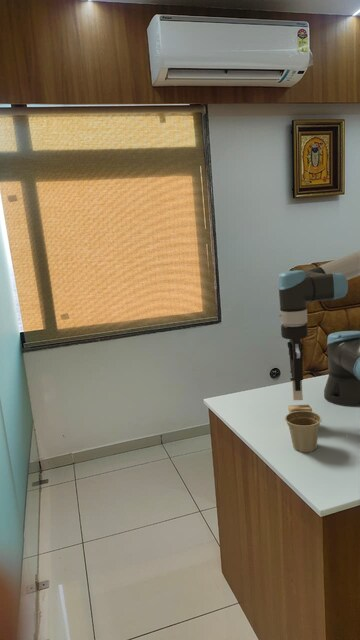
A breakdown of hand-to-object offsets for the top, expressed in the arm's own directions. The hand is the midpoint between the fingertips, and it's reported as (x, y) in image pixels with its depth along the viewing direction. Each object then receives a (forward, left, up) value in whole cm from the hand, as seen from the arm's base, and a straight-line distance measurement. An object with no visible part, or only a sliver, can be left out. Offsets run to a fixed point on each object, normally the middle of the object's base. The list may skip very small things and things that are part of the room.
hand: (297, 399), depth 126 cm
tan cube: (0, 0, -5) cm, 5 cm away
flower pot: (+1, +14, -8) cm, 17 cm away
